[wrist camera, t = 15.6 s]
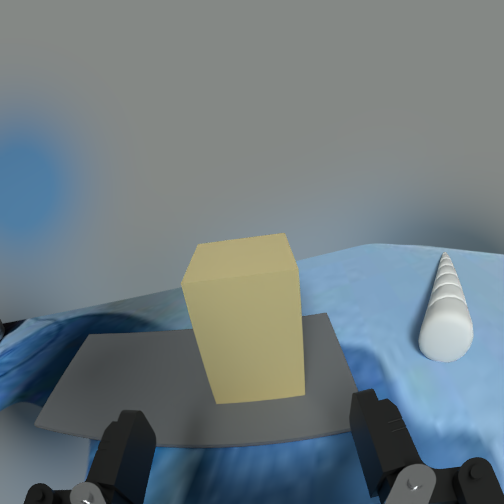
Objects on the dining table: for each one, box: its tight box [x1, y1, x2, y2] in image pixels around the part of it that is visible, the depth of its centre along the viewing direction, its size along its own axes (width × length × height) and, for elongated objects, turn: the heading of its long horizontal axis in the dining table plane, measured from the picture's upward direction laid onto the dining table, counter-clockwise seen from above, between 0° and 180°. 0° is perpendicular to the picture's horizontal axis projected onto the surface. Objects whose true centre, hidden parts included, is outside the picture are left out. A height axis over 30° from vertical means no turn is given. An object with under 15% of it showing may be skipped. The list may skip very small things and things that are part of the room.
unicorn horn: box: [418, 252, 473, 363], centre depth 28 cm, size 5×24×5 cm, turn 144°
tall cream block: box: [181, 233, 305, 404], centre depth 21 cm, size 6×6×10 cm
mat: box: [34, 313, 358, 448], centre depth 23 cm, size 26×14×1 cm, turn 91°
